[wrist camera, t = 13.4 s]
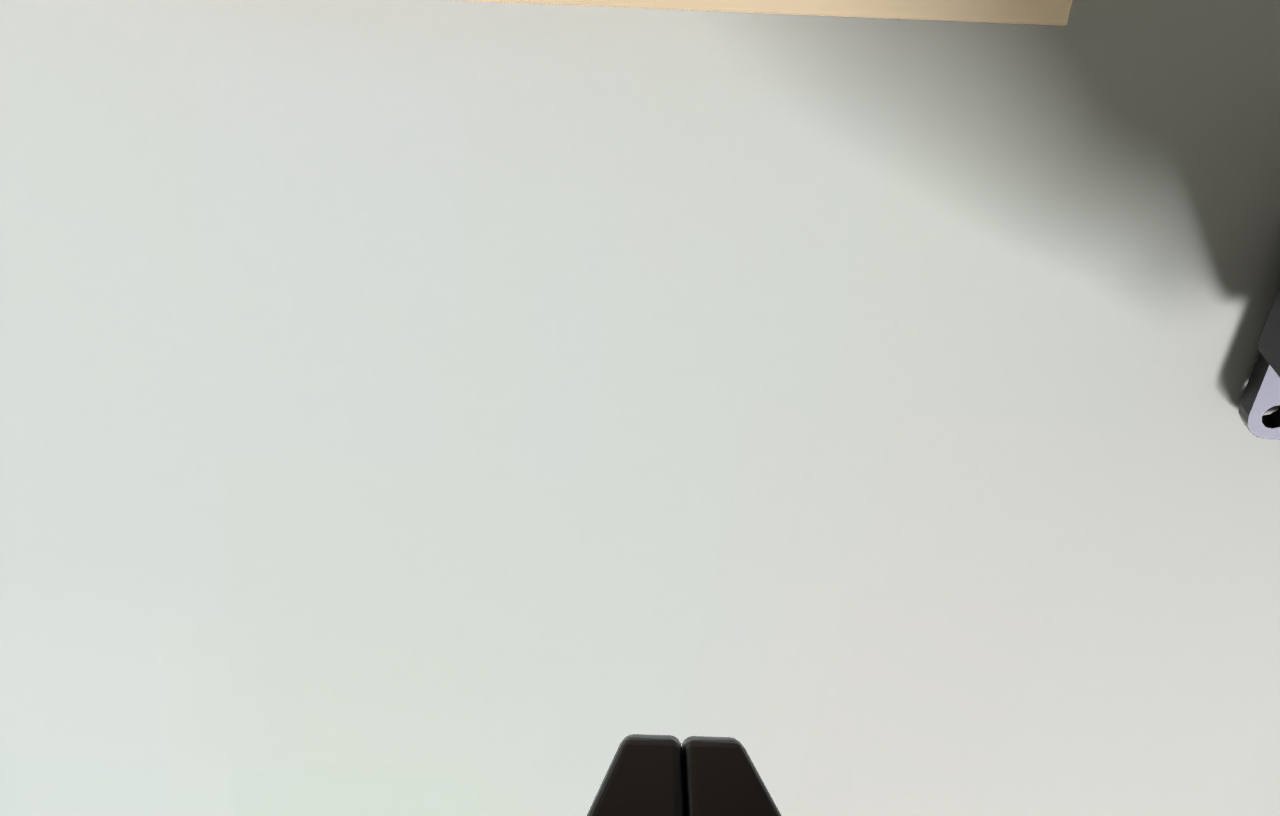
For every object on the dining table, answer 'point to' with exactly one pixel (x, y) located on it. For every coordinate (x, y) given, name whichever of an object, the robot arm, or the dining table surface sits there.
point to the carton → (861, 8)
